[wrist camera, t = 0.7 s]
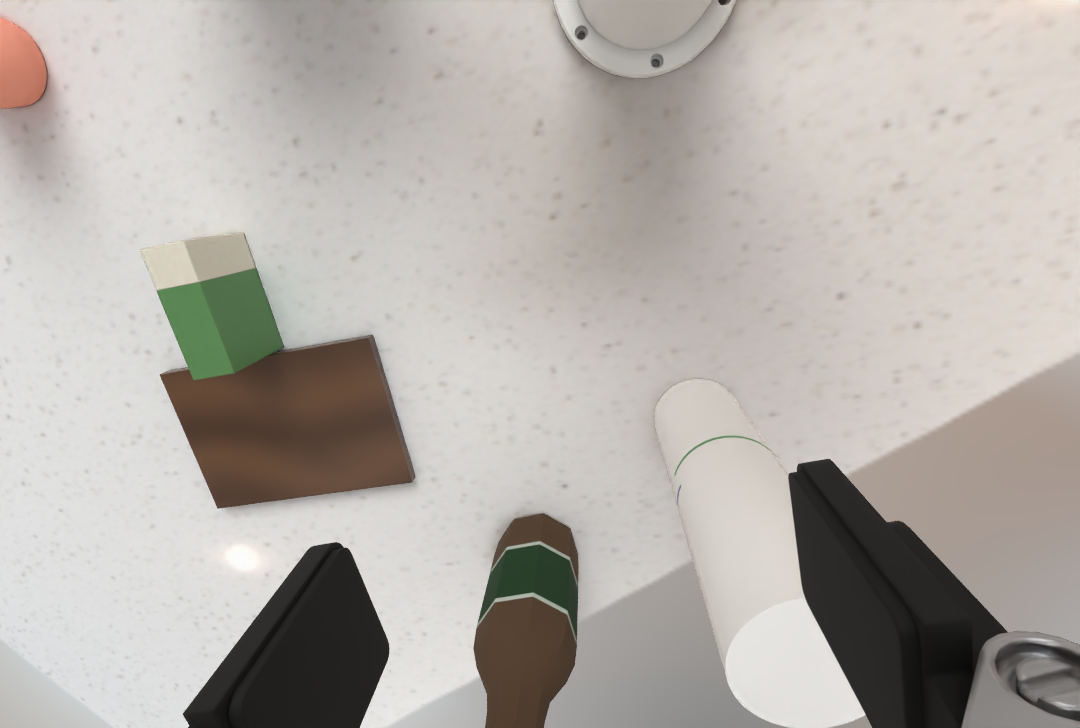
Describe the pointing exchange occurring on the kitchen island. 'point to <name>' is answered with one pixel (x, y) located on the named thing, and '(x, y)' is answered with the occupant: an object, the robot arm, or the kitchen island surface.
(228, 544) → the kitchen island surface
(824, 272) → the kitchen island surface
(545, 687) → the beer bottle
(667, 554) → the kitchen island surface
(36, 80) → the coral tray and vase
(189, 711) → the robot arm
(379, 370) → the cutting board
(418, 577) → the kitchen island surface
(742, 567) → the cylindrical container
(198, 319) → the block
